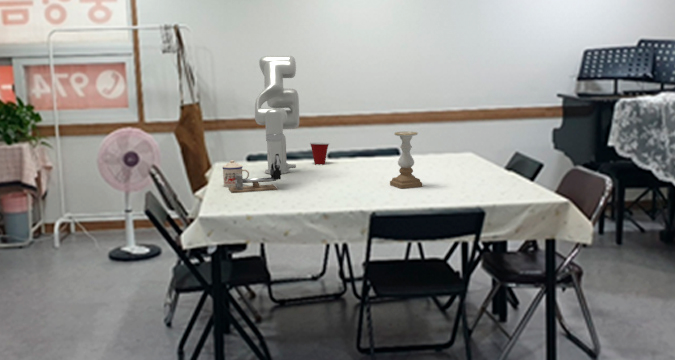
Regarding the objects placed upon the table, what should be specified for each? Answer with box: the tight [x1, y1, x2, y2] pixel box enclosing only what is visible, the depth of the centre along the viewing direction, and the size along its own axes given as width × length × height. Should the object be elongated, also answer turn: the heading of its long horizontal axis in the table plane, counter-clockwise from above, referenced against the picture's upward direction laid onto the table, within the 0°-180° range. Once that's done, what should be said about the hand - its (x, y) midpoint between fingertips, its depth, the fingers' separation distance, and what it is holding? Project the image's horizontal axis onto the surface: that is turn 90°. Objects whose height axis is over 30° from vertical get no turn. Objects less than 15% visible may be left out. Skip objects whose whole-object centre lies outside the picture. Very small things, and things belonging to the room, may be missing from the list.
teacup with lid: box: [222, 159, 250, 188], centre depth 310 cm, size 12×9×12 cm
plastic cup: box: [309, 142, 330, 165], centre depth 372 cm, size 11×11×12 cm
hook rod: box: [235, 169, 281, 184], centre depth 300 cm, size 21×5×5 cm, turn 107°
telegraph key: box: [228, 174, 278, 194], centre depth 299 cm, size 20×10×7 cm, turn 107°
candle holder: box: [389, 131, 423, 190], centre depth 300 cm, size 11×11×24 cm
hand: (275, 177), depth 302 cm, fingers closed on hook rod, 5 cm apart
